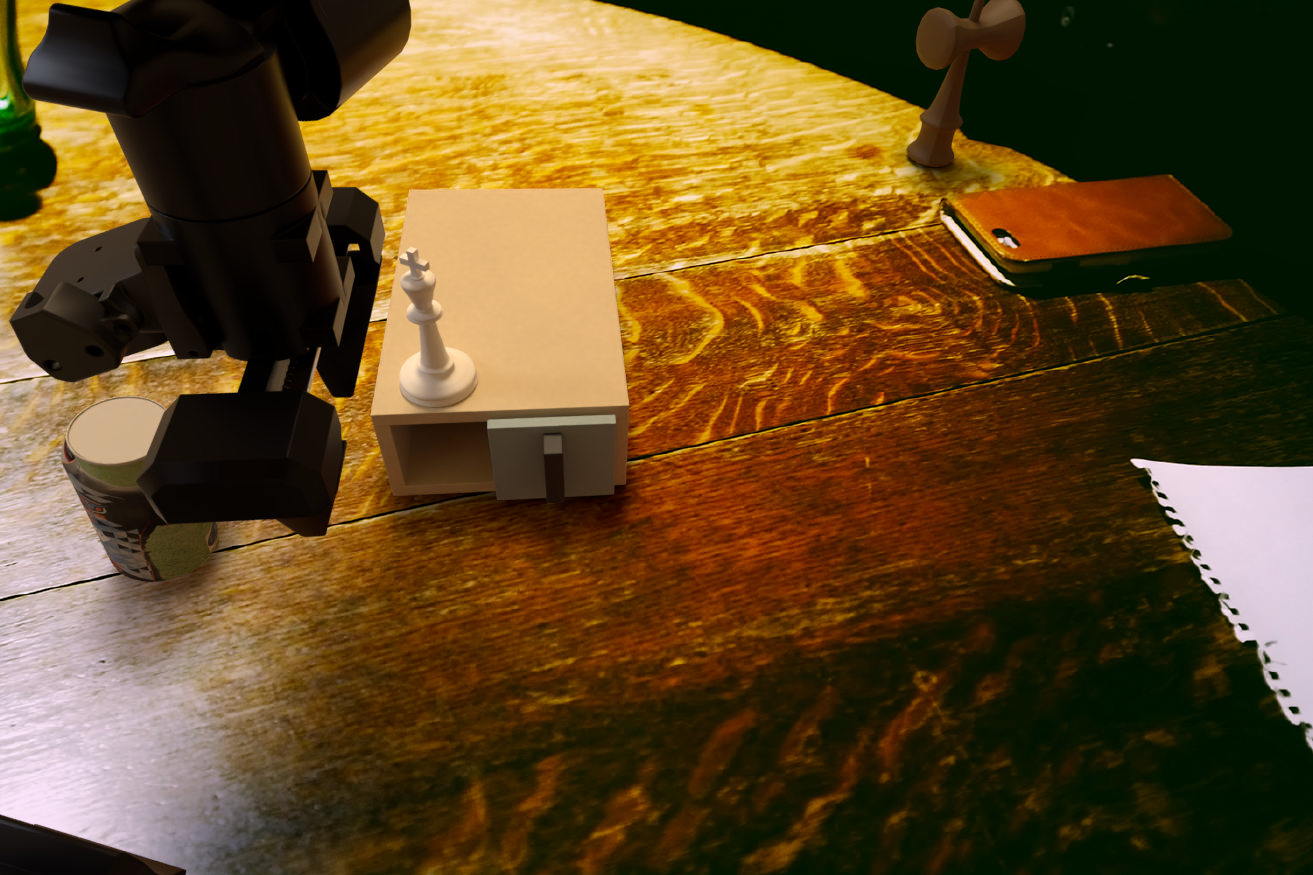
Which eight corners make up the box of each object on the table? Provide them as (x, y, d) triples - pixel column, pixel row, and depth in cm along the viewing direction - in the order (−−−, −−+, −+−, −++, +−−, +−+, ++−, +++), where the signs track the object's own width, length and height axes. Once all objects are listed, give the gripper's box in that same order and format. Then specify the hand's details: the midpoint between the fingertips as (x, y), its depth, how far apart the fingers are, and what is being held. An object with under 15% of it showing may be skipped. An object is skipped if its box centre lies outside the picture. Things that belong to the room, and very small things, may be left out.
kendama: (978, 164, 92) (1051, -30, 78) (911, 180, 89) (974, -20, 74) (944, 139, 96) (1007, -51, 81) (878, 154, 93) (931, -42, 78)
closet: (625, 484, 58) (629, 405, 52) (393, 496, 56) (369, 415, 50) (602, 266, 76) (602, 187, 70) (423, 269, 74) (409, 189, 68)
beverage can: (136, 515, 54) (47, 383, 45) (253, 509, 55) (188, 379, 46) (104, 598, 50) (-1, 470, 41) (231, 590, 51) (155, 463, 42)
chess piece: (449, 417, 51) (423, 287, 43) (383, 392, 52) (346, 261, 44) (492, 368, 54) (474, 239, 46) (429, 345, 55) (401, 215, 47)
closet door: (616, 515, 56) (618, 444, 50) (496, 521, 55) (486, 450, 50) (613, 485, 57) (615, 414, 52) (497, 491, 57) (487, 419, 51)
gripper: (83, 66, 35) (208, 342, 47) (-158, 358, 23) (94, 637, 34) (352, 68, 37) (410, 337, 48) (263, 346, 24) (370, 619, 36)
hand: (330, 459), depth 41 cm, fingers open, 9 cm apart
